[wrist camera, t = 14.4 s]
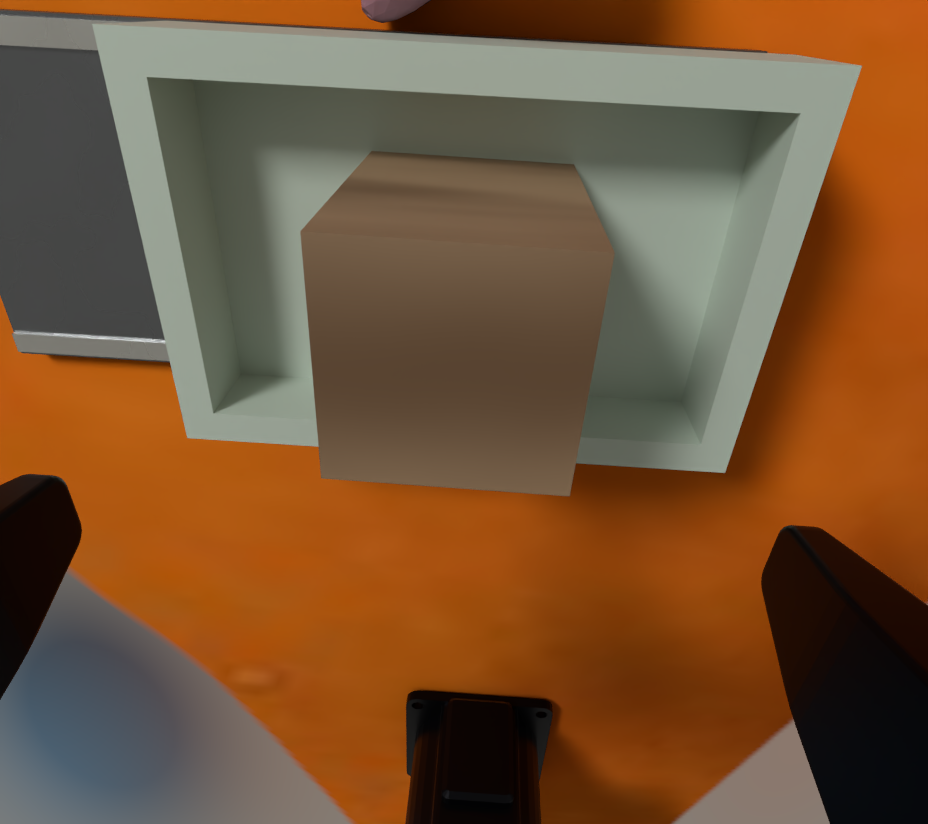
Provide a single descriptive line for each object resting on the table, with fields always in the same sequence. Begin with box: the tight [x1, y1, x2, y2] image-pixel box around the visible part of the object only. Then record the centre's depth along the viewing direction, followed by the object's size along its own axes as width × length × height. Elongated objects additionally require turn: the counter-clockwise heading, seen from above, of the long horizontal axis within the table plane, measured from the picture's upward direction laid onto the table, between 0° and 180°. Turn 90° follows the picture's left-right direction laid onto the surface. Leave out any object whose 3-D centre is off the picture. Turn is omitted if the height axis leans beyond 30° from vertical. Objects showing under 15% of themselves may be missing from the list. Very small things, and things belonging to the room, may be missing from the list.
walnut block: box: [300, 151, 615, 496], centre depth 13 cm, size 4×4×6 cm
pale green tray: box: [92, 21, 862, 473], centre depth 15 cm, size 9×14×4 cm, turn 87°
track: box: [0, 9, 767, 362], centre depth 17 cm, size 9×20×1 cm, turn 87°
